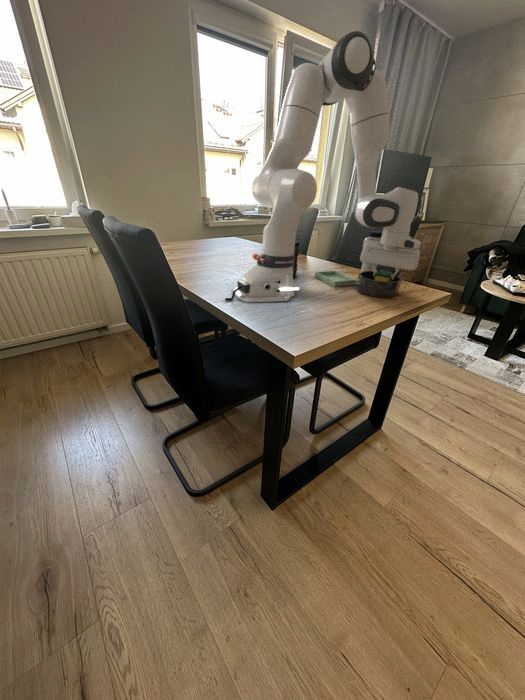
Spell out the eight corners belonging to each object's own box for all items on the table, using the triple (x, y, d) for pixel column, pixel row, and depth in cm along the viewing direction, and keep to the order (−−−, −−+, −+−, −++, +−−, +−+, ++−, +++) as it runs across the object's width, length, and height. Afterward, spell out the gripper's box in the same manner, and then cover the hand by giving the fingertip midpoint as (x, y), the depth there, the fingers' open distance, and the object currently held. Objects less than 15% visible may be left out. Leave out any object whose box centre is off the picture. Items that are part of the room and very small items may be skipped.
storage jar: (278, 279, 120) (280, 242, 113) (271, 273, 128) (273, 238, 121) (299, 278, 123) (303, 242, 115) (291, 272, 131) (294, 238, 123)
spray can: (376, 281, 124) (388, 233, 113) (361, 281, 124) (372, 232, 113) (371, 277, 129) (382, 231, 119) (357, 277, 129) (367, 230, 119)
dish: (334, 287, 115) (335, 281, 113) (314, 276, 127) (315, 271, 125) (355, 284, 118) (356, 279, 117) (334, 275, 130) (335, 270, 129)
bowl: (374, 300, 103) (378, 283, 100) (347, 287, 115) (350, 272, 112) (406, 296, 108) (411, 280, 105) (377, 284, 121) (381, 270, 118)
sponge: (386, 285, 105) (388, 275, 103) (373, 282, 107) (376, 273, 105) (390, 281, 110) (393, 272, 108) (378, 279, 112) (380, 269, 110)
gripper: (362, 236, 103) (354, 274, 110) (423, 244, 94) (409, 285, 101) (367, 235, 108) (359, 271, 115) (425, 242, 98) (412, 281, 105)
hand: (383, 277), depth 108 cm, fingers closed on sponge, 4 cm apart
